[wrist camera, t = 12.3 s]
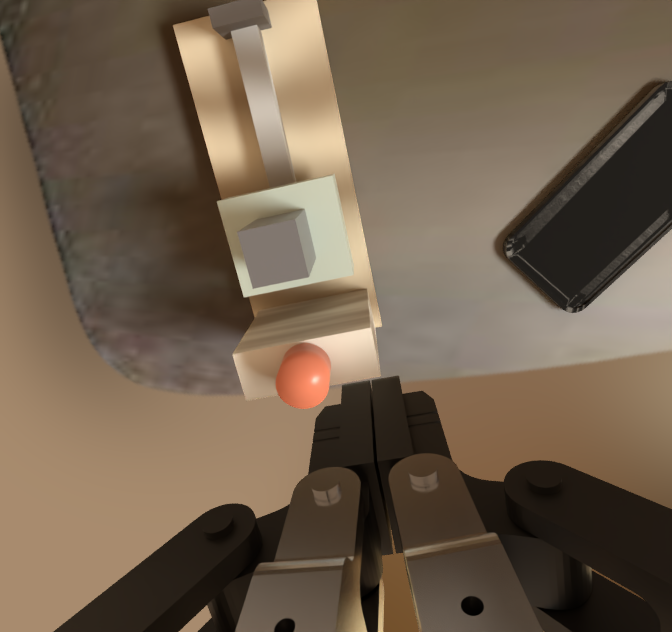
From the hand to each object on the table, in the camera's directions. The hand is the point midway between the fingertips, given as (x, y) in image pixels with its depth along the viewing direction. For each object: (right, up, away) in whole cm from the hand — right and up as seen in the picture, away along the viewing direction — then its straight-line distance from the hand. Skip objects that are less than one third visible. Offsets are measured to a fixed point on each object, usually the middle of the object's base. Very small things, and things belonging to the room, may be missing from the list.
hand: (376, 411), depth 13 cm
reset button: (-3, 0, +15) cm, 16 cm away
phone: (+18, +10, +22) cm, 31 cm away
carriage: (-4, +8, +20) cm, 22 cm away
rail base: (-4, +12, +22) cm, 25 cm away
